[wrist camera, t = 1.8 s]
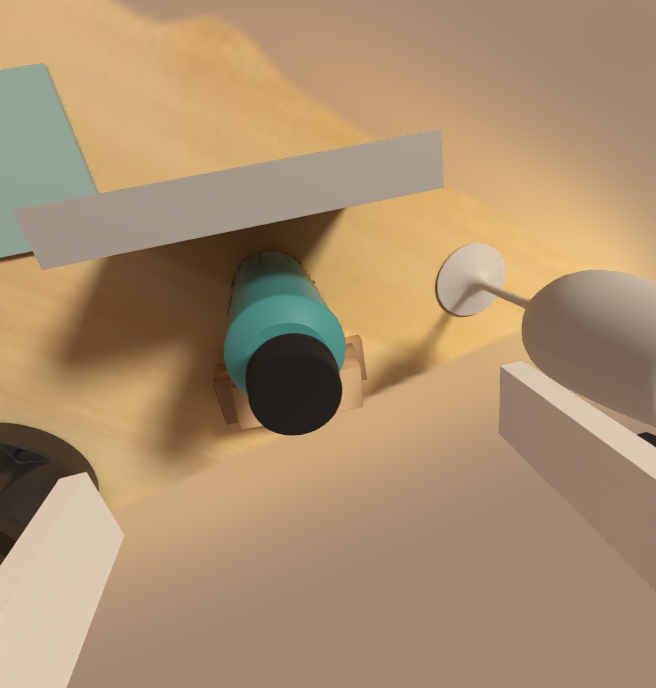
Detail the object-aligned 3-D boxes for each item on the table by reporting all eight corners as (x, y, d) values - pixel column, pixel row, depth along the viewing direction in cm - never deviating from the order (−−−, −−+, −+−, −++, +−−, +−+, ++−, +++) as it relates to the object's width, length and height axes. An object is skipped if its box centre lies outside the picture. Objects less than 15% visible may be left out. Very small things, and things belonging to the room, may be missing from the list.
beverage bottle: (222, 258, 31) (178, 355, 13) (297, 236, 32) (356, 300, 13) (248, 326, 34) (242, 486, 16) (316, 306, 34) (388, 437, 16)
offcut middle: (227, 412, 35) (226, 424, 34) (215, 373, 34) (213, 383, 32) (357, 382, 37) (362, 392, 35) (351, 343, 35) (357, 351, 33)
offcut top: (241, 416, 34) (240, 429, 32) (232, 377, 32) (231, 388, 30) (357, 395, 35) (363, 407, 33) (354, 356, 33) (360, 366, 32)
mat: (-34, 264, 28) (-38, 265, 27) (-135, 93, 23) (-142, 91, 23) (115, 234, 29) (112, 235, 28) (46, 65, 24) (42, 63, 24)
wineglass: (505, 307, 38) (756, 424, 19) (436, 324, 37) (626, 464, 18) (507, 233, 35) (809, 285, 16) (432, 250, 34) (655, 327, 15)
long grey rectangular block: (141, 231, 29) (42, 269, 15) (129, 199, 28) (11, 210, 14) (359, 188, 31) (443, 187, 17) (354, 156, 30) (441, 129, 16)
